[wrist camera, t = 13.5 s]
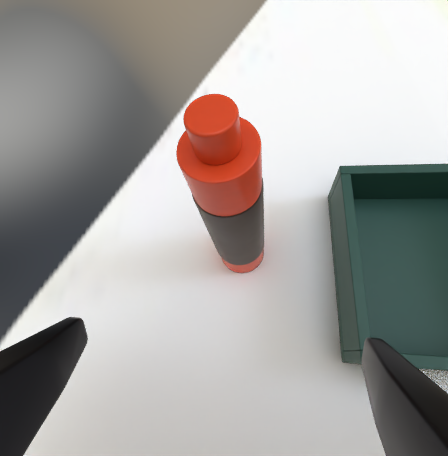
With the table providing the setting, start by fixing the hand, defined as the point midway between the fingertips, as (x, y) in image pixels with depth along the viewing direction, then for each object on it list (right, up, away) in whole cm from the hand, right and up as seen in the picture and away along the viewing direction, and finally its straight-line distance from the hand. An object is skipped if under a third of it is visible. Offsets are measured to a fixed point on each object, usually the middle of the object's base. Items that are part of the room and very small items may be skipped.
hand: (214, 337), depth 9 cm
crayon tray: (+12, +1, +9) cm, 16 cm away
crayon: (+2, +2, +11) cm, 12 cm away
